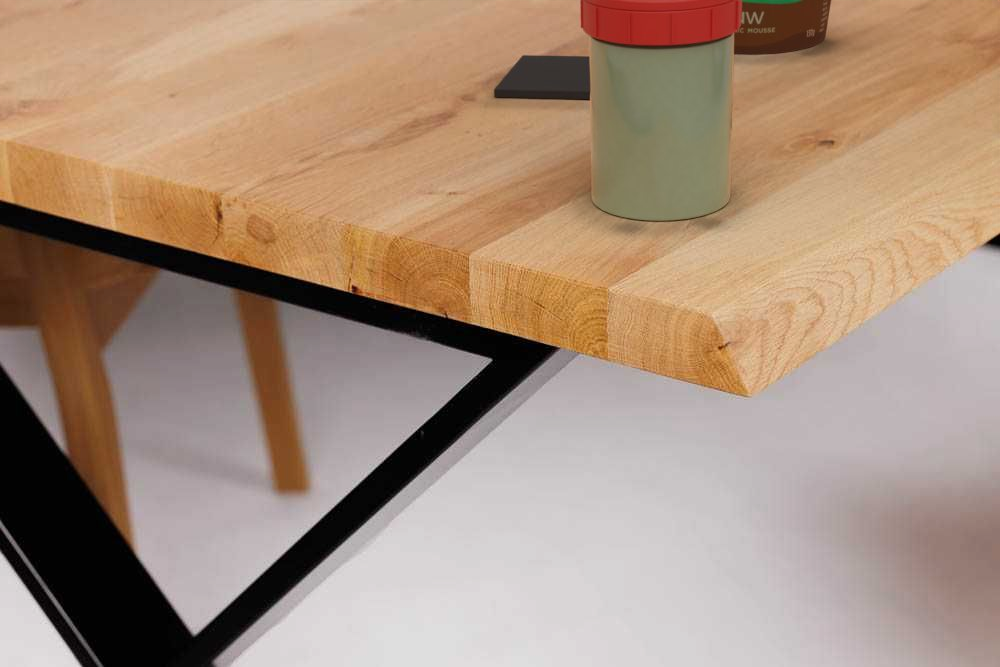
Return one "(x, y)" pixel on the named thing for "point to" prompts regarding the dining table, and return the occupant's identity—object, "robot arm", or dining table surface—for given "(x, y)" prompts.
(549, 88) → the mat
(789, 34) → the food container
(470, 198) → the dining table surface
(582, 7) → the lid
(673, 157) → the jar
